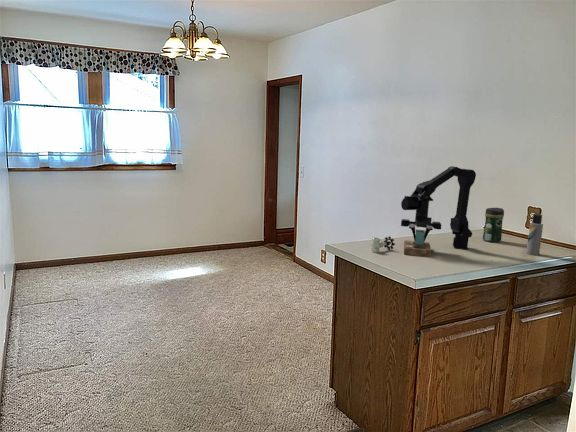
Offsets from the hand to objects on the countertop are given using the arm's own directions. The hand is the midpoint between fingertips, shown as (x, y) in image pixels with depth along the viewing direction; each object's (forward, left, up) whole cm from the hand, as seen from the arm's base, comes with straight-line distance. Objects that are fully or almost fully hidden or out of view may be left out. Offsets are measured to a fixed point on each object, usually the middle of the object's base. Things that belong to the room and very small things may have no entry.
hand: (419, 241), depth 234 cm
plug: (0, 0, -2) cm, 2 cm away
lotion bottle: (-55, -14, -4) cm, 57 cm away
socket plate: (+1, +5, -4) cm, 6 cm away
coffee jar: (-40, -39, -4) cm, 56 cm away
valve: (+18, +11, -4) cm, 21 cm away
